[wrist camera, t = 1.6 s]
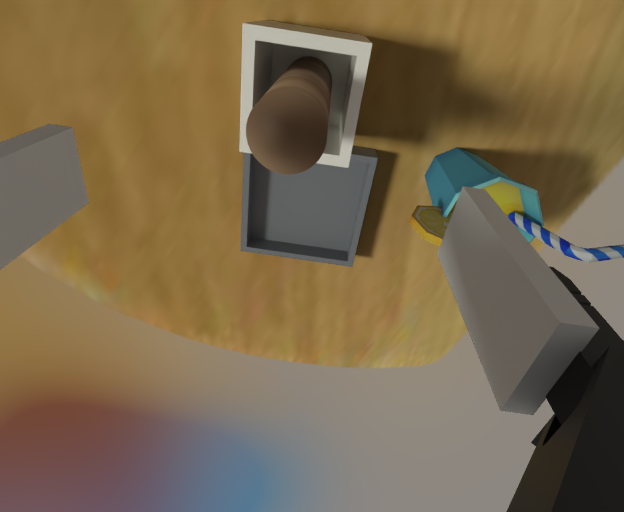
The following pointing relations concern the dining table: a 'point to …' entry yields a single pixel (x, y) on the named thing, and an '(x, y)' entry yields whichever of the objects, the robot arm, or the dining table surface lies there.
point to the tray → (307, 209)
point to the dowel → (292, 118)
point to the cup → (505, 192)
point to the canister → (291, 46)
